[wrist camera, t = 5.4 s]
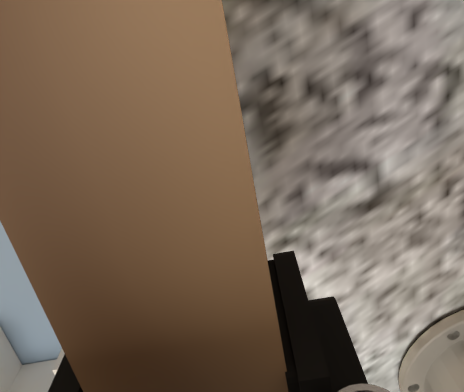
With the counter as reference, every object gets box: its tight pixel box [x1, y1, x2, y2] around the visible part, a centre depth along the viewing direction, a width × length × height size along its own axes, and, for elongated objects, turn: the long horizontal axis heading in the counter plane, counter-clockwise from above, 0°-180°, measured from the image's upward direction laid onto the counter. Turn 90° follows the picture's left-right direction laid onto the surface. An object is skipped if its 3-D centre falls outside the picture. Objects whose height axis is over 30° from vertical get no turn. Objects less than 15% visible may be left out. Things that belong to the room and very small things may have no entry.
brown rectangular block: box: [0, 0, 288, 392], centre depth 10 cm, size 4×16×5 cm, turn 10°
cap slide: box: [0, 327, 65, 392], centre depth 26 cm, size 8×5×5 cm, turn 100°
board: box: [0, 221, 62, 365], centre depth 25 cm, size 14×27×1 cm, turn 10°
